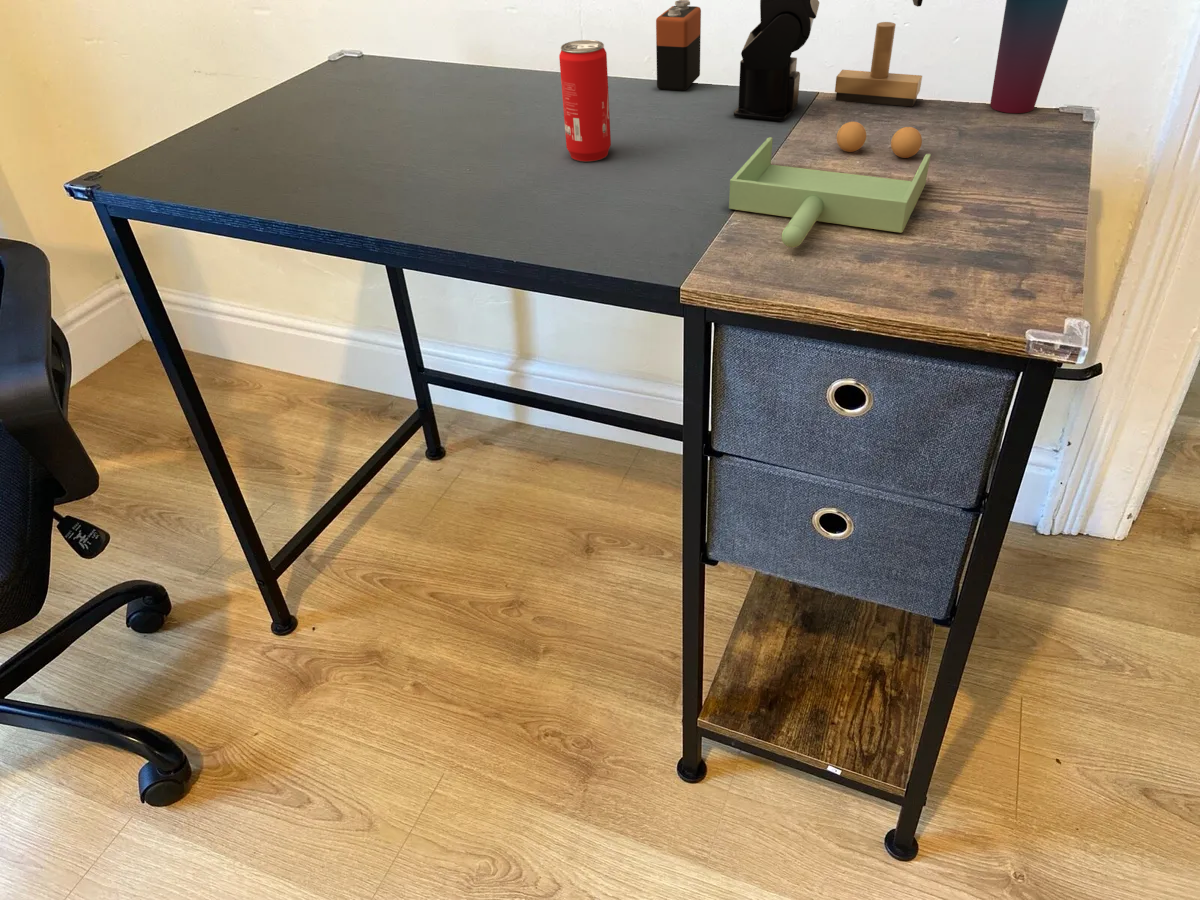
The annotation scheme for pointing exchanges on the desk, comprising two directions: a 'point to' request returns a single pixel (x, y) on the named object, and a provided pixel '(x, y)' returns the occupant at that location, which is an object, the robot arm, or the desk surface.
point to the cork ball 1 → (851, 136)
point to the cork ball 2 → (906, 142)
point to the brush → (879, 77)
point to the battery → (678, 46)
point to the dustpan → (823, 196)
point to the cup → (1025, 52)
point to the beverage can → (585, 99)
